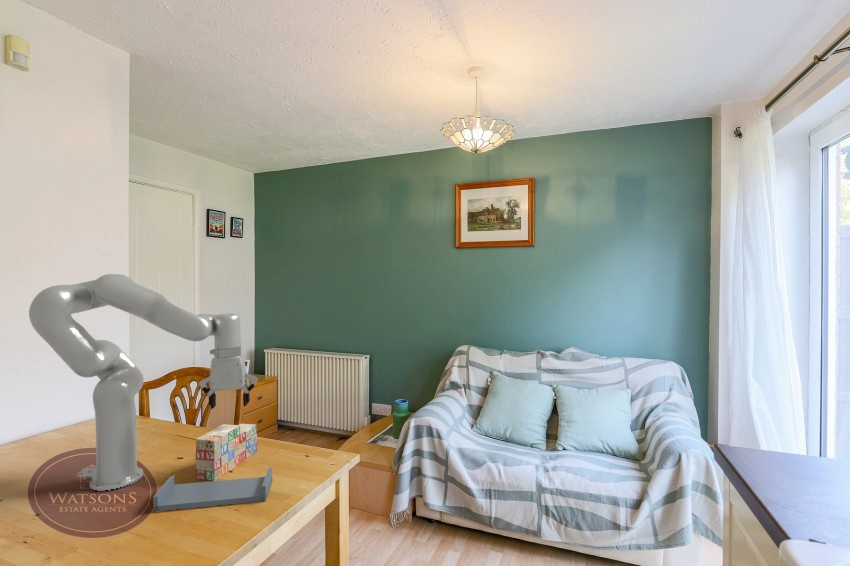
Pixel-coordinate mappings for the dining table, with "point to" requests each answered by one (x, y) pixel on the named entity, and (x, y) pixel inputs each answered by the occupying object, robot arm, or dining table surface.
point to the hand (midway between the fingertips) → (229, 406)
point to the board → (211, 493)
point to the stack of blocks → (224, 449)
